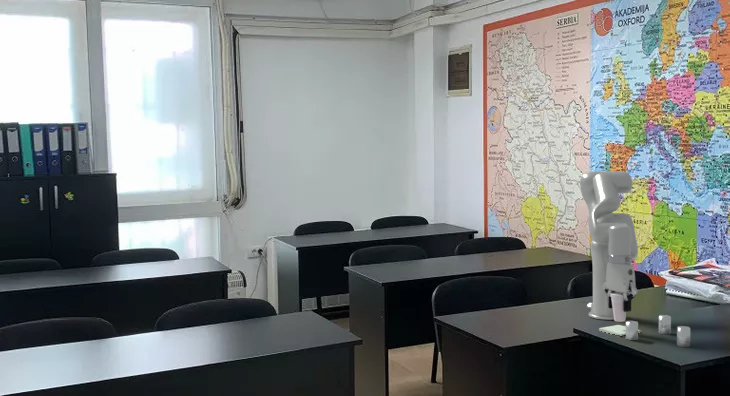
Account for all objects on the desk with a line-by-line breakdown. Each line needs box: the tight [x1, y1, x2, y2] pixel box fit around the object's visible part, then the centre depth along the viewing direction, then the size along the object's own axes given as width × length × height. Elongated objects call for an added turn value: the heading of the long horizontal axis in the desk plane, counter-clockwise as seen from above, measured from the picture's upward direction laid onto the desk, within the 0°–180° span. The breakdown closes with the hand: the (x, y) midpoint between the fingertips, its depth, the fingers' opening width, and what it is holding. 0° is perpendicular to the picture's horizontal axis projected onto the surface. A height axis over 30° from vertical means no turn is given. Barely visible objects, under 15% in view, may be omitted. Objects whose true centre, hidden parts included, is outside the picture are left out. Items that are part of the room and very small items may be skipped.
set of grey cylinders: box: [625, 314, 691, 348], centre depth 242 cm, size 18×20×6 cm
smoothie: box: [610, 292, 628, 323], centre depth 254 cm, size 6×6×14 cm
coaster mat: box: [598, 324, 642, 336], centre depth 255 cm, size 10×10×1 cm
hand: (619, 309), depth 254 cm, fingers closed on smoothie, 6 cm apart
